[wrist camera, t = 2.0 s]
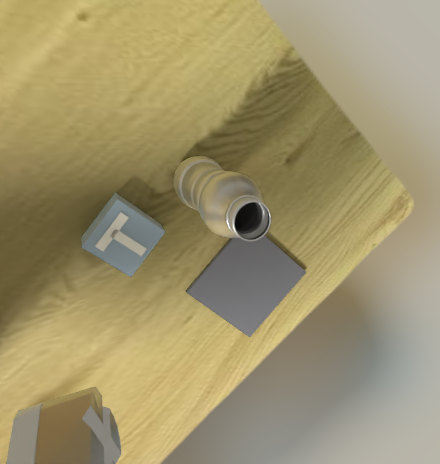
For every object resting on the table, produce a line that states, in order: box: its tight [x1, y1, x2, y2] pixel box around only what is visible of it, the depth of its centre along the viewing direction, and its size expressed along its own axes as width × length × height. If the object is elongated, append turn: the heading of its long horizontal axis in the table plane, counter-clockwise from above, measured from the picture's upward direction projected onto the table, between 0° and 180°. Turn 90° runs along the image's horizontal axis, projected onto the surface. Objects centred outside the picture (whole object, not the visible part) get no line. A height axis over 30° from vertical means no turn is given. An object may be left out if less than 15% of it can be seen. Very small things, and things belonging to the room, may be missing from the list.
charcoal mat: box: [186, 235, 306, 337], centre depth 61 cm, size 13×13×1 cm
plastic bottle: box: [174, 156, 271, 241], centre depth 45 cm, size 6×7×20 cm
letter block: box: [81, 193, 165, 277], centre depth 52 cm, size 7×7×4 cm
